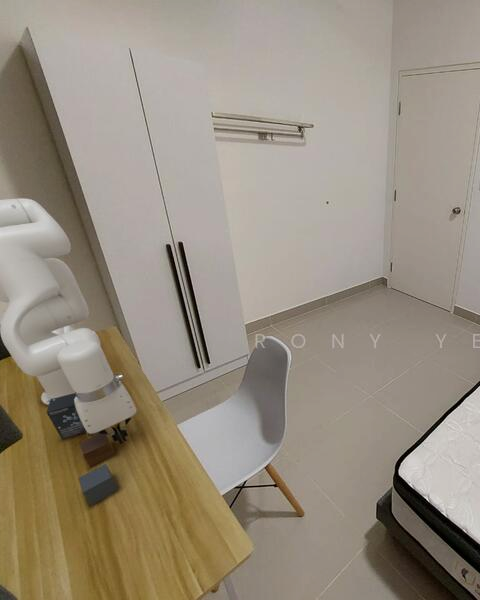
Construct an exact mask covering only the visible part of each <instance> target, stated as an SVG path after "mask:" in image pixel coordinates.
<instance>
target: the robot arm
mask: <svg viewBox="0 0 480 600" xmlns="http://www.w3.org/2000/svg"><path fill="white" fill-rule="evenodd" d="M71 245H72V244H71V242H70V239H69V237H68V235H67V234H66V232H65V231H64V229H63V227H61V226H60V224H59V223H58V221H56V219H54V217H52V215H51V214H50V213H49V212H47V210H46V209H45V208H44V207H43V206H42V205H41V204H39V202H37V201H36V200H34V199H30V198H24V197H23V198H22V197H21V198H18V197H17V198H7V199H0V302H3V303H8V306H7V307H6V308H5V310H3V311H2V312H1V313H0V337H1V338H0V339H1V341H2V343H3V345H4V346H5V348H6V350H7V351H8V353H9V355H10V356H11V357H12V359H13V361H14V362H15V364H16V365H17V367H18V368H19V369H20V370H21V372H23V373H24V374H25V375H28V376H29V377H36V378H37V380H38V382H39V383H40V385H41V387H42V388H43V390H44V391H43V392H42V394H41V396H40V400H41V402H42V403H43V404H44V405H46V406H49V403H50V399H53V398H57V397H61V396H65V395H69V394H73V393H75V394H76V397H75V399H74V402H75V407H76V410H77V413H78V415H79V417H80V420H81V422H82V424H83V426H84V428H85V429H86V432H85V433H86V436H87V437H88V438H90V437H93V436H95V435H98V434H107V435H108V436H111V438H112V440H113V442H114V443H116V442H118V443H119V445H122V444H123V443H127V442H128V440H127V438H126V437H128V436H129V434H128V431H127V425H128V424H129V423H130V421H131V420H132V419H134V418H135V417H137V416H138V415H140V412H139V410H138V408H136V405H135V403H134V401H133V399H132V397H131V395H130V394H129V392H128V390H127V388H126V386H125V385H124V384H123V383H122V382H121V381H122V380H124V379H125V378H124V376H123V375H122V374H119V375H116V374H114V372H113V370H112V368H111V366H110V364H109V361H108V359H107V357H106V354H105V352H104V349H103V348H102V346H101V345H102V342H101V339H100V337H99V336H98V334H97V332H95V331H94V330H91V329H90V328H88V327H80V328H76V329H73V331H70V332H67V333H64V334H61V335H59V334H56V333H53V332H52V331H55V330H57V329H60V328H63V327H66V326H69V325H70V326H72V325H75V324H78V323H80V322H83V321H85V320H87V318H88V317H89V316H90V309H89V306H88V303H87V302H86V299H85V297H84V295H83V293H82V291H81V289H80V287H79V284H78V282H77V280H76V278H75V275H74V274H73V272H72V270H71V268H70V267H69V265H68V264H66V263H65V261H63V260H61V259H59V258H57V257H61V256H65V255H68V254H69V253H70V252H71V249H72V246H71ZM116 424H117V425H116ZM114 425H116V427H115V426H114Z"/></svg>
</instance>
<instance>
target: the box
mask: <svg viewBox="0 0 480 600" xmlns="http://www.w3.org/2000/svg"><path fill="white" fill-rule="evenodd" d="M75 397H76V394H75V393H73V394H69V395H65V396H61V397H57V398H53V399H50V403H49V405H47V409H46V412H45V413H46V415H47V416H48V418H49V420H50V421H51V423H52V425H53V426H54V428H55V430H56V432H57V433H58V435H59V436H60V438H61V439H62V440H65V439H69V438H71V437H74V436H78V435H81V434H84V433H86V429H85V428H84V426H83V424H82V422H81V420H80V417H79V415H78V413H77V410H76V407H75V402H74V399H75Z"/></svg>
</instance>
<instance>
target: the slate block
mask: <svg viewBox="0 0 480 600" xmlns="http://www.w3.org/2000/svg"><path fill="white" fill-rule="evenodd" d="M78 482H79V485H80V488H81V491H82V494H83V496H84V497H85V499H86V501H87V502H88V503H89V505H90V506H93V505H95V504H97V503H98V502H100V501H102V500H103V499H106V498H107V497H109V496H111V495H113V494H115V493H116V492H117V491H119V488H118V485H117V483H116V481H115V479H114V476H113V474H112V472H111V470H110V469H109V467H108V465H107V463H105V464H102V465H101V466H99V467H97V468H95V469H92V470H91V471H89V472H87V473H85V474H83V475H81V476H79V477H78Z"/></svg>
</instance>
